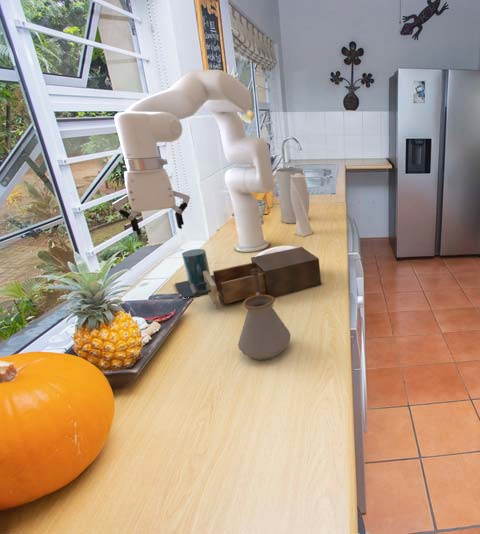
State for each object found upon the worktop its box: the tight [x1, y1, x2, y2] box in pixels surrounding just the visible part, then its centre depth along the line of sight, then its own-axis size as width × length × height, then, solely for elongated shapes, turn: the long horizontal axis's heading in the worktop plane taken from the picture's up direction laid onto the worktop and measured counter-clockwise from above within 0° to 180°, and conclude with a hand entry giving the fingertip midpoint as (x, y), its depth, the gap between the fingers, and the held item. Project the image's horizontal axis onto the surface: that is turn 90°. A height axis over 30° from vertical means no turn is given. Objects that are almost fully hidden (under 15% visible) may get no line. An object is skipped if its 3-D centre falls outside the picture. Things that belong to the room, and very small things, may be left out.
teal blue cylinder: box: [181, 248, 211, 289], centre depth 119 cm, size 8×6×11 cm
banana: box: [254, 245, 299, 257], centre depth 140 cm, size 5×19×15 cm
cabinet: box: [250, 246, 322, 298], centre depth 122 cm, size 17×14×9 cm
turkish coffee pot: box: [237, 268, 292, 361], centre depth 91 cm, size 21×12×15 cm, turn 21°
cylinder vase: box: [275, 167, 304, 225], centre depth 188 cm, size 12×12×25 cm
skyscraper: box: [291, 169, 314, 237], centre depth 167 cm, size 8×8×28 cm
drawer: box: [190, 262, 267, 310], centre depth 113 cm, size 20×13×7 cm, turn 125°
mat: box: [175, 274, 215, 299], centre depth 122 cm, size 13×13×1 cm
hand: (159, 230), depth 103 cm, fingers open, 9 cm apart
